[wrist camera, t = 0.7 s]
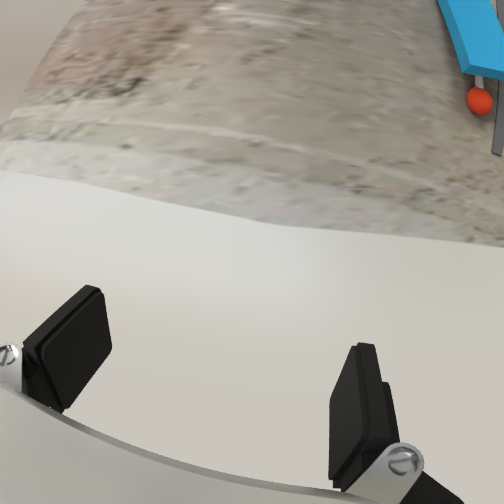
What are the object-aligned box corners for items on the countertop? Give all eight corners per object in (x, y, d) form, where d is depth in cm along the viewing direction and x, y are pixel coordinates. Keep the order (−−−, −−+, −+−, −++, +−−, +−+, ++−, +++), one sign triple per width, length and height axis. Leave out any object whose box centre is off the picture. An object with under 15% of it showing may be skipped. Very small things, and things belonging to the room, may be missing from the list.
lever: (419, -3, 27) (453, 115, 29) (432, -32, 20) (478, 97, 22) (462, 5, 26) (497, 120, 28) (478, -20, 19) (526, 106, 21)
